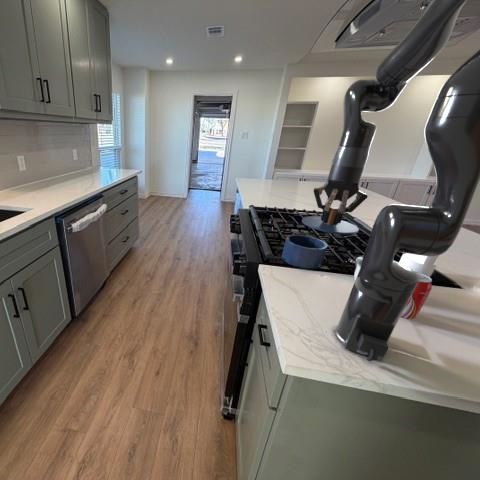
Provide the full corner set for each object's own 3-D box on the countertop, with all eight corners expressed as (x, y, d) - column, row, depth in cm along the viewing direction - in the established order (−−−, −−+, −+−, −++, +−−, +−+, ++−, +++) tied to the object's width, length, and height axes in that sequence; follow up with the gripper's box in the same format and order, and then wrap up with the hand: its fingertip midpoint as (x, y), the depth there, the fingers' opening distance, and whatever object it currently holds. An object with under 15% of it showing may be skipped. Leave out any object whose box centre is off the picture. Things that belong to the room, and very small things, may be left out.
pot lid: (361, 240, 68) (369, 218, 65) (301, 229, 74) (306, 209, 72) (353, 224, 80) (360, 205, 77) (301, 216, 86) (306, 199, 84)
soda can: (376, 304, 74) (392, 268, 69) (400, 305, 74) (418, 269, 69) (396, 320, 68) (415, 282, 63) (422, 321, 67) (444, 283, 63)
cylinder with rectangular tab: (390, 266, 96) (403, 237, 91) (417, 269, 95) (432, 240, 90) (406, 278, 88) (421, 247, 83) (436, 282, 86) (453, 250, 82)
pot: (321, 274, 89) (328, 252, 86) (279, 264, 95) (285, 243, 92) (319, 258, 100) (326, 239, 97) (282, 250, 106) (287, 232, 103)
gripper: (319, 163, 69) (303, 222, 76) (383, 167, 64) (359, 231, 70) (318, 161, 76) (303, 216, 82) (376, 165, 70) (355, 224, 77)
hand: (329, 223), depth 76 cm, fingers closed on pot lid, 2 cm apart
